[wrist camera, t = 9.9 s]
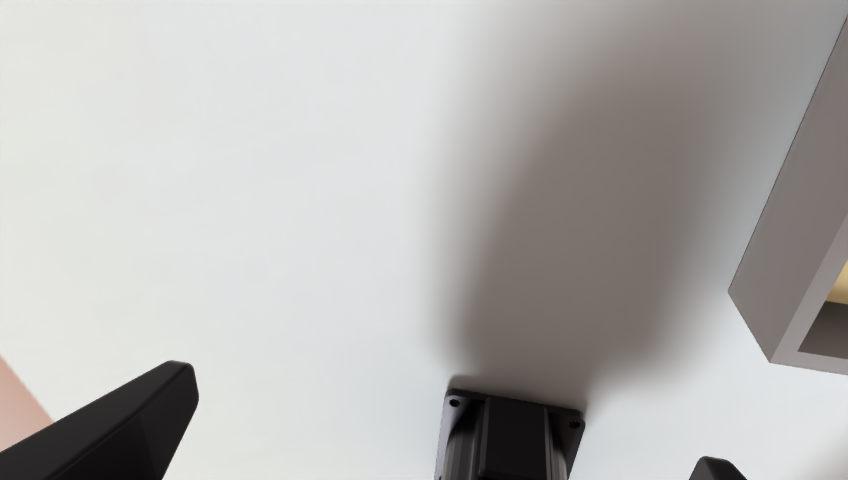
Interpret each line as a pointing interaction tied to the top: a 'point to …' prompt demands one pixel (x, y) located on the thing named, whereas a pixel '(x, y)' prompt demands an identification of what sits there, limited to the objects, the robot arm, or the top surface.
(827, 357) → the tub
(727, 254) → the top surface
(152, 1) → the top surface
